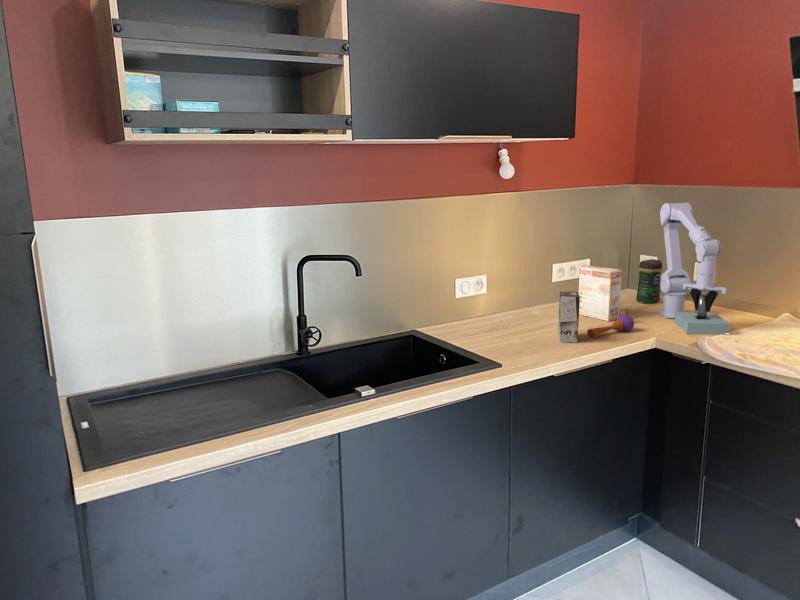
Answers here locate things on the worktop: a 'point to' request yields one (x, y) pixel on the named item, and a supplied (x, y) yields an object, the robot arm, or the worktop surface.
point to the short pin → (623, 312)
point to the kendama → (614, 326)
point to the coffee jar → (649, 281)
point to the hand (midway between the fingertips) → (702, 310)
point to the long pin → (702, 306)
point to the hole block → (702, 323)
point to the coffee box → (568, 316)
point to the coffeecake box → (599, 292)
